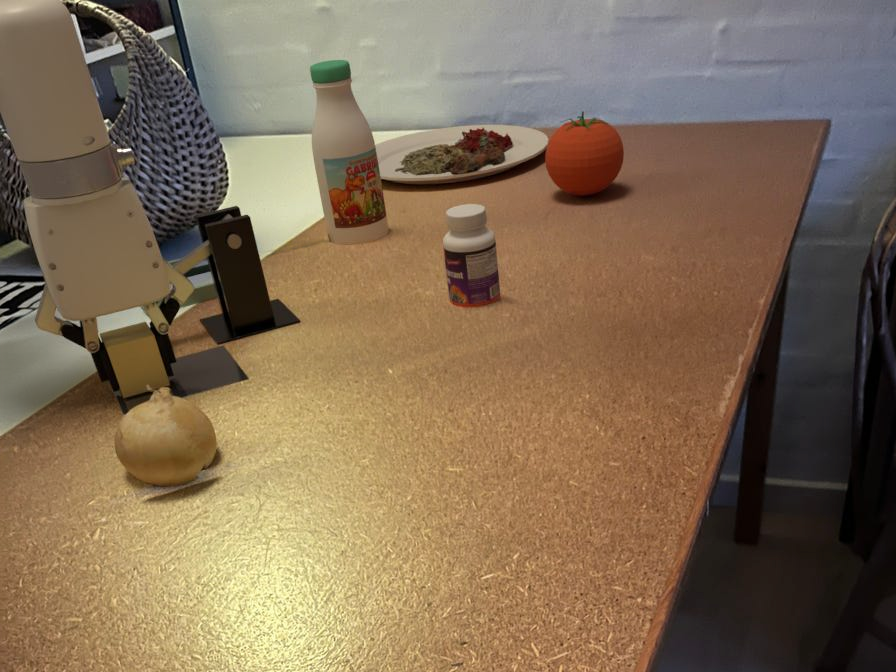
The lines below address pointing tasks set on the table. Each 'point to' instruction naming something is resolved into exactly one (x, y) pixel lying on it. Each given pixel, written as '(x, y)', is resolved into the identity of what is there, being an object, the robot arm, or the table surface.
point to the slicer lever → (195, 255)
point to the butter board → (193, 376)
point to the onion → (165, 440)
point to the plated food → (457, 153)
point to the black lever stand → (238, 280)
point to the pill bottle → (470, 257)
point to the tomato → (584, 156)
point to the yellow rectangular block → (135, 359)
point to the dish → (199, 292)
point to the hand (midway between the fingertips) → (140, 377)
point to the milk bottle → (345, 159)
